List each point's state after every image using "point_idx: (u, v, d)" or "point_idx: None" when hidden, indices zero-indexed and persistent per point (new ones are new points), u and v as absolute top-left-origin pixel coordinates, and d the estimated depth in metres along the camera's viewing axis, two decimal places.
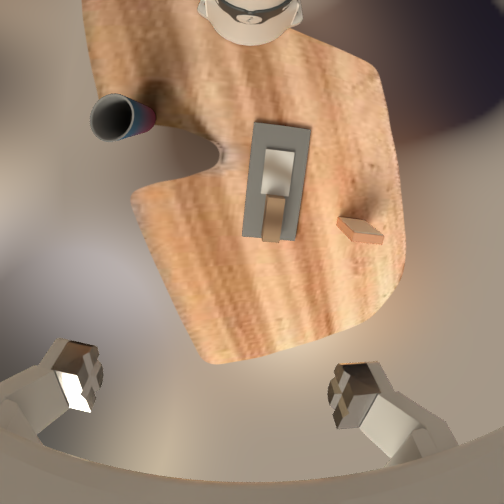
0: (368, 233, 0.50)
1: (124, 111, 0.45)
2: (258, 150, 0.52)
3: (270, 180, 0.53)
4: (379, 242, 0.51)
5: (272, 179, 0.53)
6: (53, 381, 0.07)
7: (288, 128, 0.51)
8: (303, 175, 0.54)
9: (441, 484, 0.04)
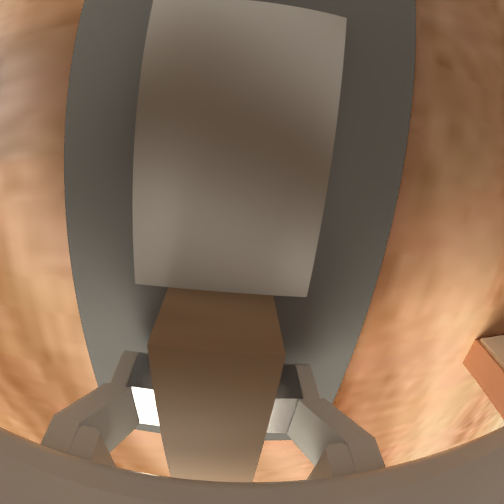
0: None
1: None
2: (116, 25, 0.06)
3: (184, 200, 0.08)
4: None
5: (197, 192, 0.08)
6: (129, 398, 0.07)
7: None
8: (396, 168, 0.08)
9: (441, 484, 0.04)
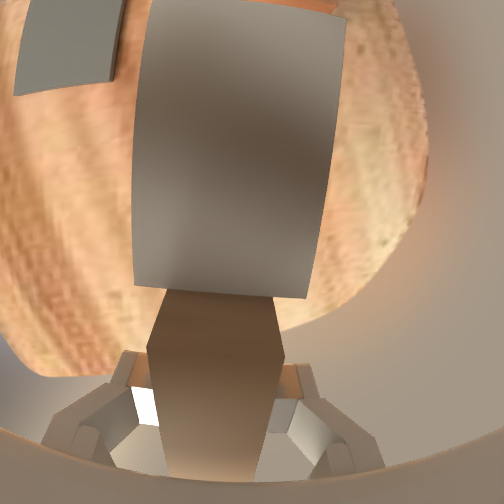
0: None
1: None
2: None
3: (183, 201, 0.08)
4: None
5: (196, 194, 0.08)
6: (129, 398, 0.07)
7: None
8: None
9: (441, 484, 0.04)
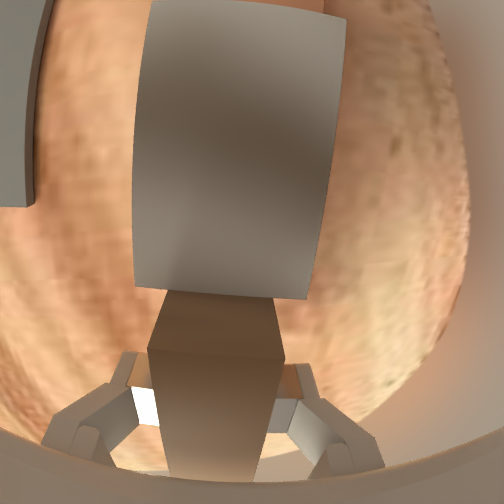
0: None
1: None
2: None
3: (183, 203, 0.08)
4: None
5: (197, 195, 0.08)
6: (129, 398, 0.07)
7: None
8: None
9: (441, 484, 0.04)
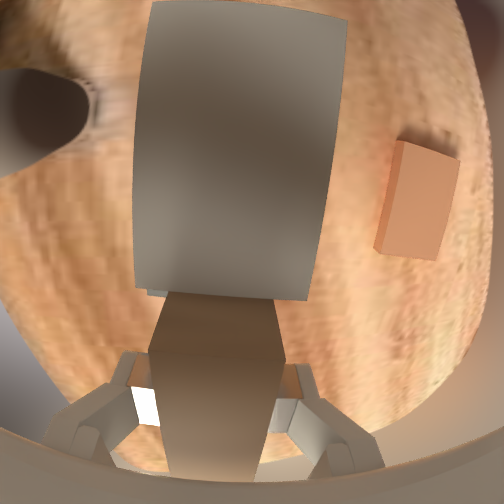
0: None
1: None
2: None
3: (184, 204, 0.08)
4: (453, 158, 0.20)
5: (197, 197, 0.08)
6: (129, 398, 0.07)
7: None
8: None
9: (441, 484, 0.04)
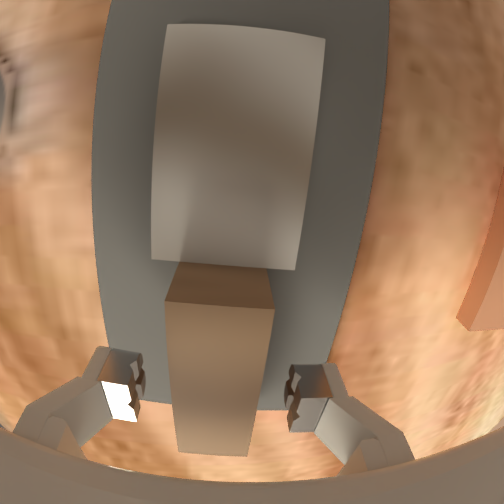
0: None
1: None
2: (136, 41, 0.08)
3: (194, 189, 0.10)
4: None
5: (204, 183, 0.09)
6: (99, 392, 0.07)
7: None
8: (370, 160, 0.10)
9: (441, 484, 0.04)
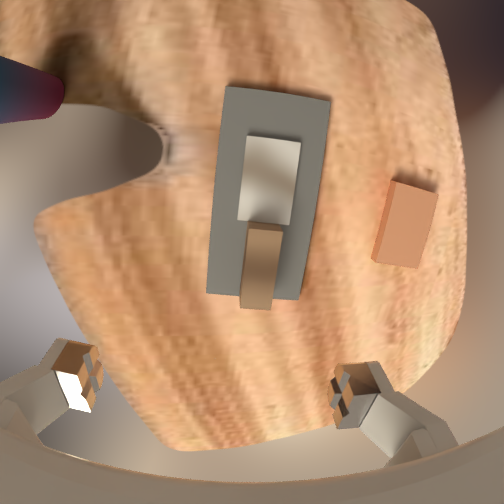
0: None
1: None
2: (233, 138, 0.27)
3: (255, 195, 0.29)
4: None
5: (259, 193, 0.29)
6: (53, 381, 0.07)
7: (289, 97, 0.26)
8: (317, 185, 0.29)
9: (441, 484, 0.04)
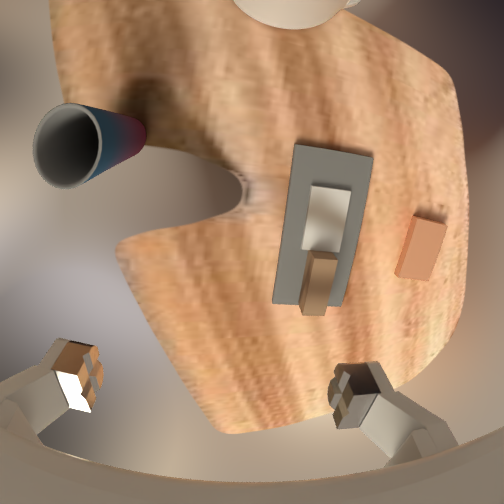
0: None
1: None
2: (300, 187, 0.36)
3: (316, 231, 0.37)
4: (443, 224, 0.38)
5: (318, 229, 0.37)
6: (53, 381, 0.07)
7: (343, 155, 0.34)
8: (360, 222, 0.38)
9: (441, 484, 0.04)
